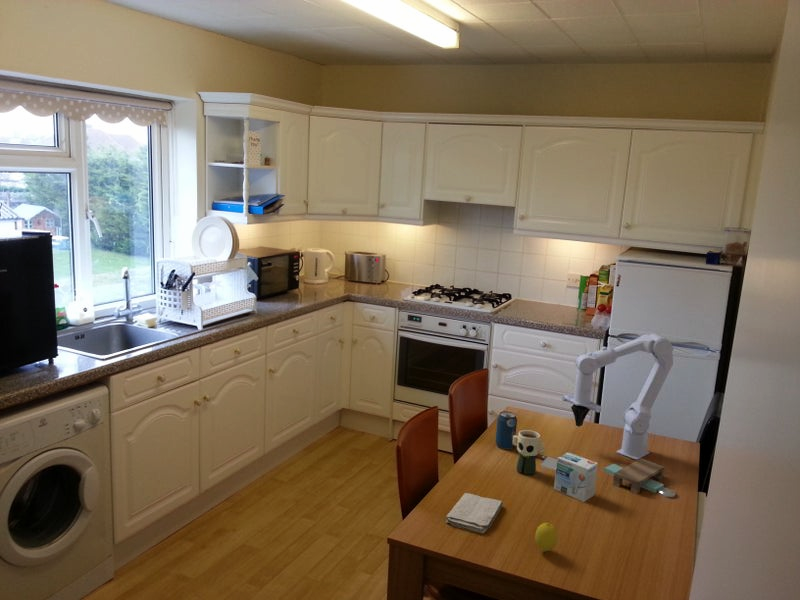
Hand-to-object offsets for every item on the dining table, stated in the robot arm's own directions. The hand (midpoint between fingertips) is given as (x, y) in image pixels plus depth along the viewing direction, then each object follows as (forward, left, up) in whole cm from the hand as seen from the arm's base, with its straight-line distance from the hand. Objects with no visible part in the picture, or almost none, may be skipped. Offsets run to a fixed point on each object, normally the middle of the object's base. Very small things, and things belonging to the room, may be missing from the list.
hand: (578, 425), depth 233 cm
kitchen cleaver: (+17, +1, -10) cm, 20 cm away
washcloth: (+64, +7, -10) cm, 65 cm away
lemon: (+64, +30, -10) cm, 71 cm away
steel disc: (+6, +36, -10) cm, 38 cm away
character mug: (+29, -1, -10) cm, 31 cm away
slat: (+5, +24, -10) cm, 27 cm away
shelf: (+5, +26, -9) cm, 28 cm away
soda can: (+18, -18, -10) cm, 27 cm away
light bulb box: (+29, +17, -10) cm, 35 cm away
